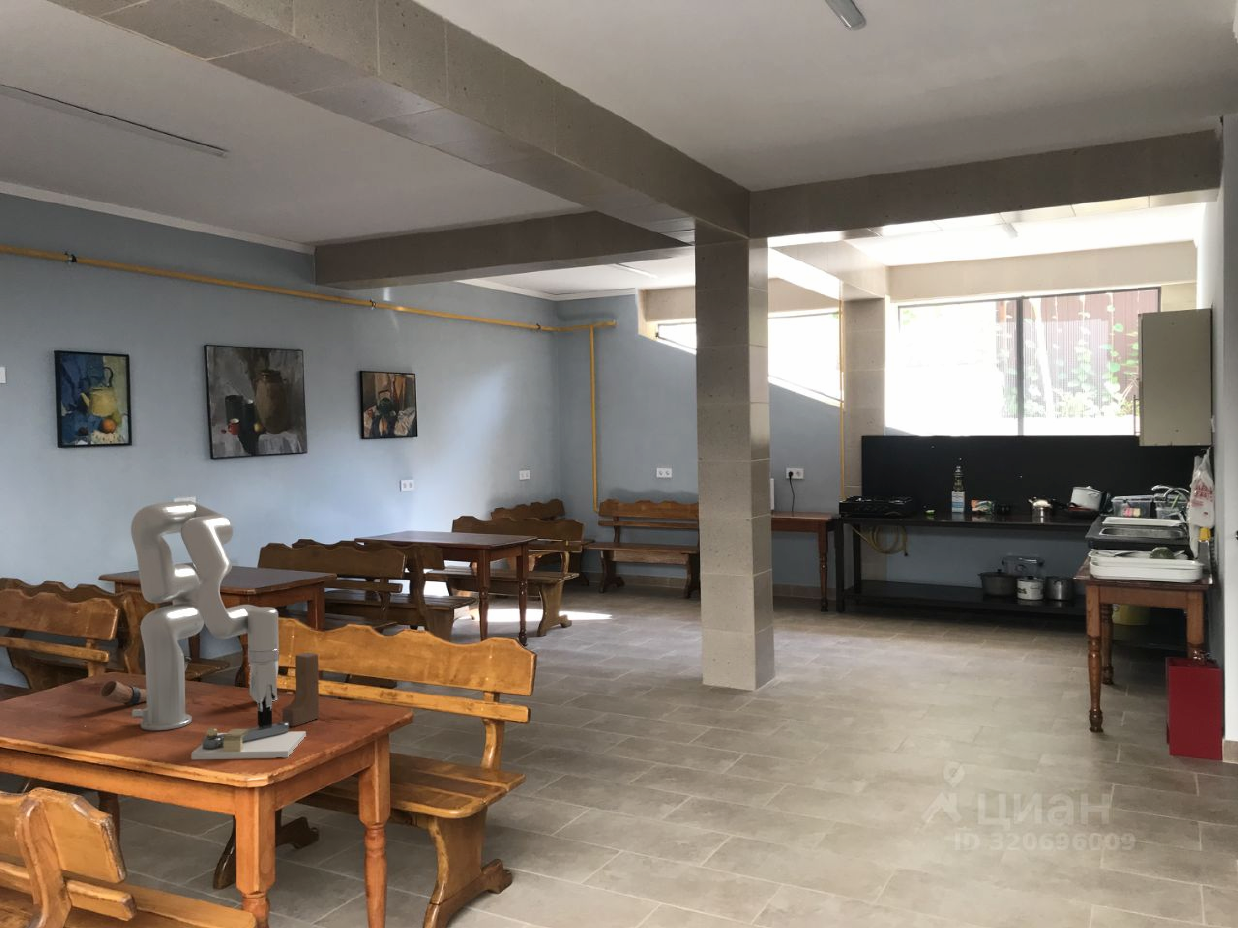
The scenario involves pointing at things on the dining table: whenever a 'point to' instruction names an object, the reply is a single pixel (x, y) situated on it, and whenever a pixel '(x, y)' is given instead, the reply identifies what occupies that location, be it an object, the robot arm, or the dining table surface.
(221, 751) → the base plate
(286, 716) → the wooden block
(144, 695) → the drinking horn
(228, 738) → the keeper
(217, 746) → the link
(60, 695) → the dining table surface
